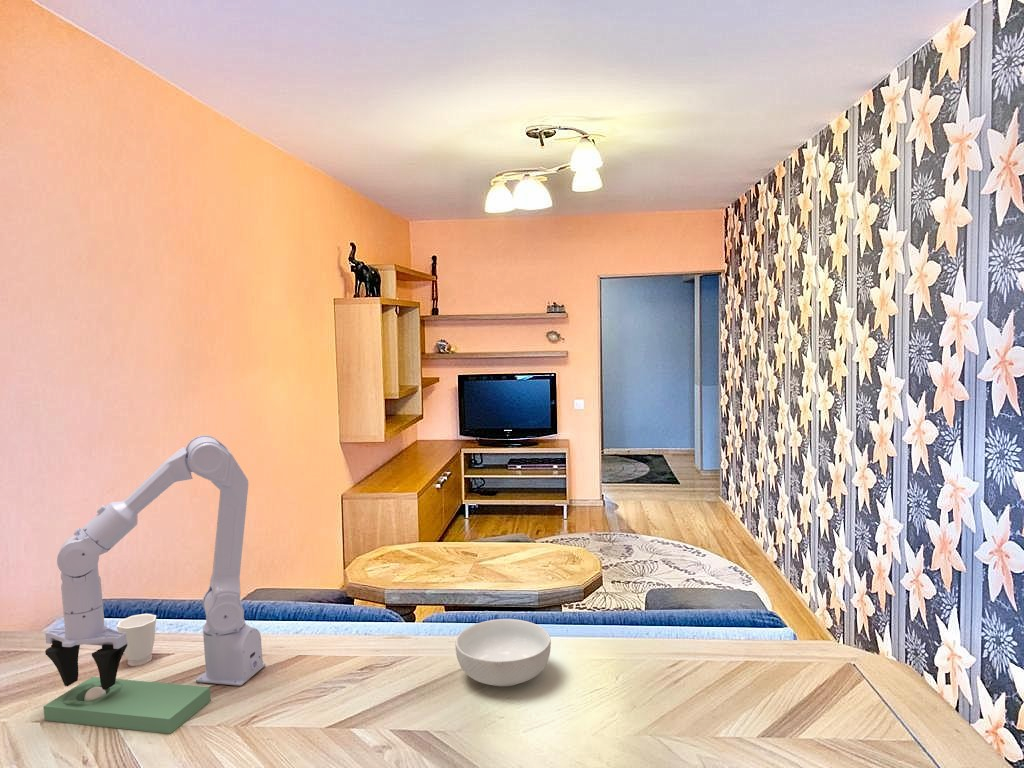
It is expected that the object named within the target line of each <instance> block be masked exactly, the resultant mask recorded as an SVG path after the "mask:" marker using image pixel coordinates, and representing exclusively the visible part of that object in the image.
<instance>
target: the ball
mask: <svg viewBox="0 0 1024 768" xmlns="http://www.w3.org/2000/svg"><path fill="white" fill-rule="evenodd" d="M105 694H106V691H105V690H103V689H102V687H93V688H91V689H90V690H88V691H87V693H86V694H85V697H84V700H85V701H89V700H94V699H97V698H100V697H102V696H104V695H105Z"/></svg>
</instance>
